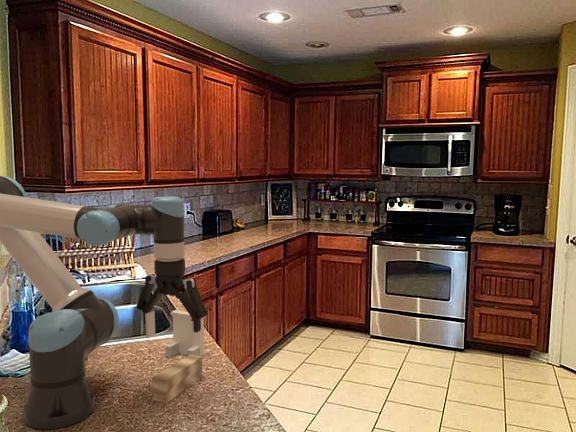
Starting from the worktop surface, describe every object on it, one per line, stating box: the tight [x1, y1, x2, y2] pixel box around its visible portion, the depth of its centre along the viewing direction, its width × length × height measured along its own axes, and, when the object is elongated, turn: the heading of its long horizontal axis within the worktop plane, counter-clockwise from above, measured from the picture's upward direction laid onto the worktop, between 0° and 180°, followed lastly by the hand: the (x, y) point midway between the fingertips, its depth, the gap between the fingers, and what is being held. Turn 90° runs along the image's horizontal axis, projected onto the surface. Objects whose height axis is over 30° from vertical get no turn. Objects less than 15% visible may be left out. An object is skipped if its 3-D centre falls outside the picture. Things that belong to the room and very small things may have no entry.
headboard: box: [164, 309, 206, 359], centre depth 147 cm, size 6×11×13 cm, turn 67°
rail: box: [152, 354, 203, 404], centre depth 127 cm, size 16×4×6 cm, turn 157°
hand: (172, 340), depth 123 cm, fingers open, 13 cm apart
